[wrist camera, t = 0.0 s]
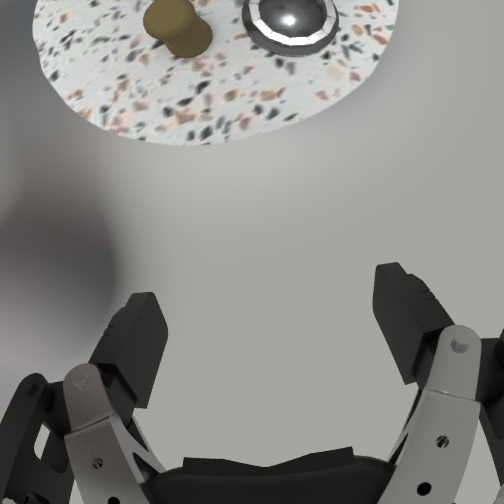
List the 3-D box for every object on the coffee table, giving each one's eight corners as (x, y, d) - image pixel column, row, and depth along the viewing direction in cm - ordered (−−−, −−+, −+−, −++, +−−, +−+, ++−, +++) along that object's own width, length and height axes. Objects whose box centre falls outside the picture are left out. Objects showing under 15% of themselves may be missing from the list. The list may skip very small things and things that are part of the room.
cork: (171, 64, 30) (140, 49, 20) (162, 27, 27) (129, 2, 17) (217, 50, 29) (202, 27, 19) (206, 12, 26) (188, -20, 17)
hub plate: (236, -15, 24) (234, -24, 22) (327, -19, 24) (332, -28, 21) (249, 61, 30) (249, 56, 27) (343, 55, 29) (350, 51, 26)
